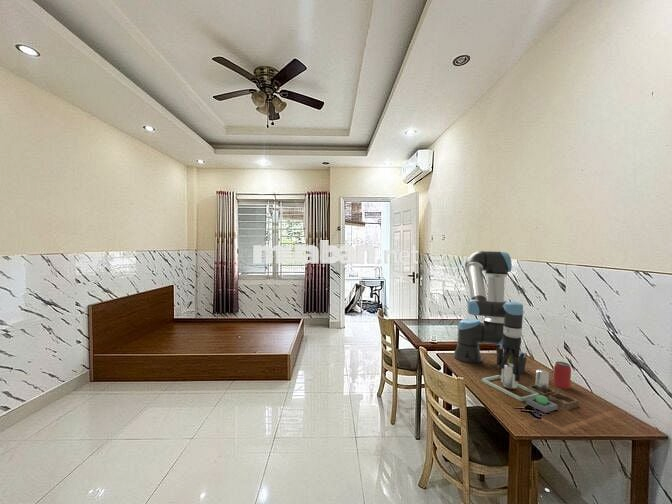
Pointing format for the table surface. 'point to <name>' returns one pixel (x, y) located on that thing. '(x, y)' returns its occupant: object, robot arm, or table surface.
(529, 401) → the grey square button housing
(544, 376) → the cylinder
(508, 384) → the cylinder
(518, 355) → the apple
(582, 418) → the table surface
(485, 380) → the tray
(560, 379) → the beer can
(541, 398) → the button
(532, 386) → the tray
